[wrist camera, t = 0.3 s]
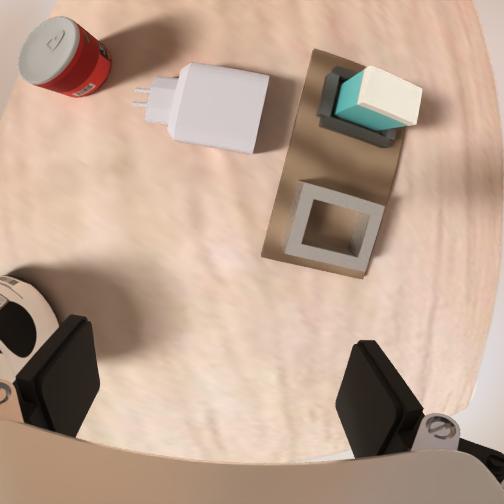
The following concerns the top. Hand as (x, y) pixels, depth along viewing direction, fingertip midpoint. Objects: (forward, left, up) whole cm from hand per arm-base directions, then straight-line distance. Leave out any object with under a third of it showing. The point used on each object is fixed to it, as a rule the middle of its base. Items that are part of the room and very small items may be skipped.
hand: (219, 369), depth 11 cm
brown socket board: (-10, +12, -30) cm, 34 cm away
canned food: (-15, -23, -30) cm, 41 cm away
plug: (-17, +12, -29) cm, 36 cm away
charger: (-12, -7, -31) cm, 34 cm away
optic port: (-2, +12, -30) cm, 32 cm away
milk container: (+23, -29, -30) cm, 48 cm away
